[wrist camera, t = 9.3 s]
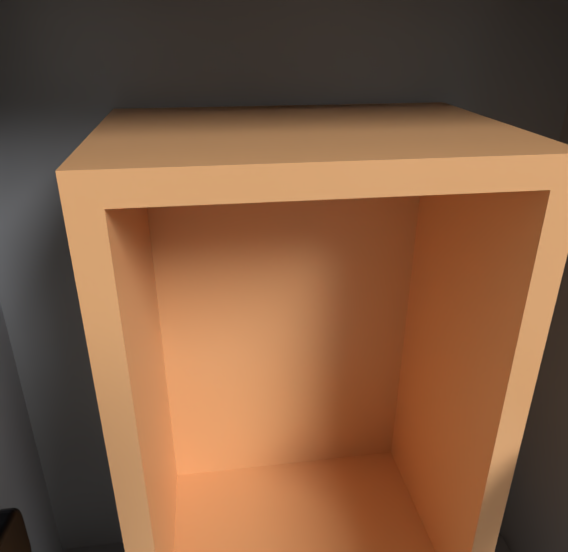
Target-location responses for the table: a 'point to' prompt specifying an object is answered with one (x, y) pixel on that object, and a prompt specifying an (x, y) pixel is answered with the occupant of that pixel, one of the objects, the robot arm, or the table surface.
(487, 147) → the orange crate
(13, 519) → the robot arm
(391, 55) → the grey crate
